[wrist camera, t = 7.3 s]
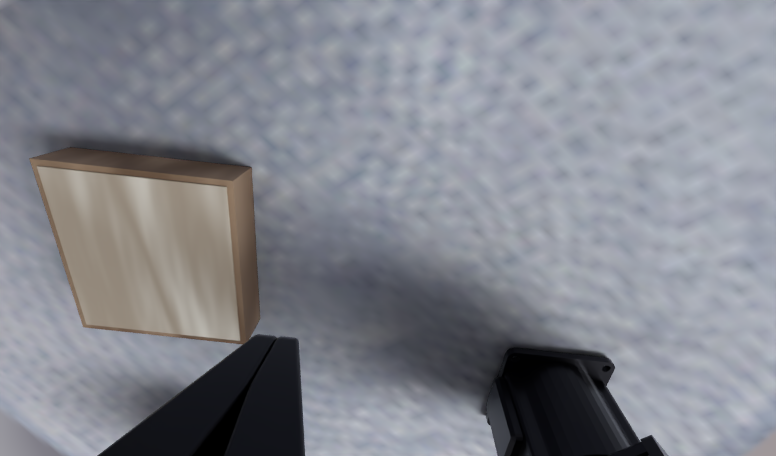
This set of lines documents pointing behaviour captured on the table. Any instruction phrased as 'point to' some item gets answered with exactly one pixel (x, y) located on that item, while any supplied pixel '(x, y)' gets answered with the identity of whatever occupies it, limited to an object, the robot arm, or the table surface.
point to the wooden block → (155, 242)
